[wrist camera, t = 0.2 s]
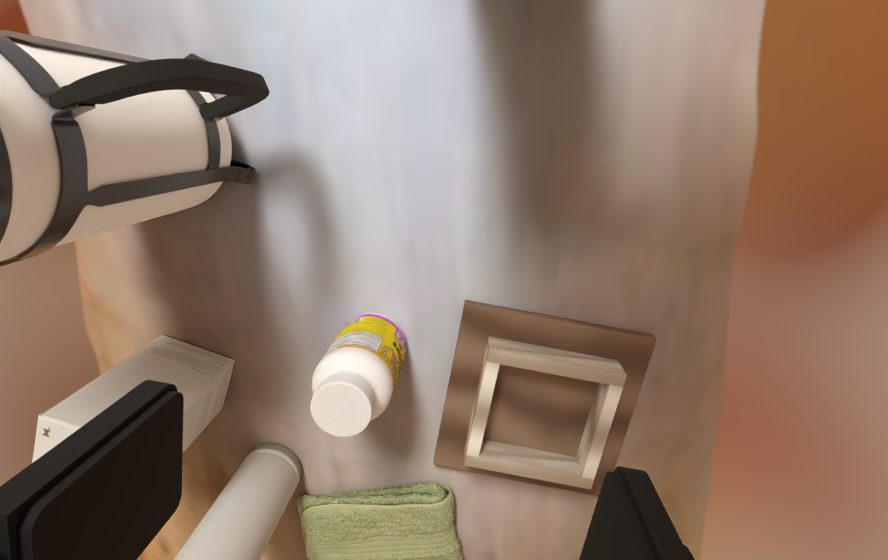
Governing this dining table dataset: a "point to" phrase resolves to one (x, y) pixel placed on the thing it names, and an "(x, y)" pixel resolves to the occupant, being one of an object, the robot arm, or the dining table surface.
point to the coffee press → (108, 139)
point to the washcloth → (381, 524)
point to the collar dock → (540, 397)
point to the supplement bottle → (357, 374)
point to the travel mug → (246, 507)
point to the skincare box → (159, 361)
